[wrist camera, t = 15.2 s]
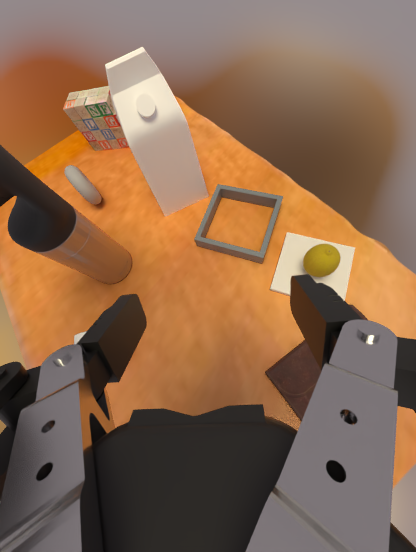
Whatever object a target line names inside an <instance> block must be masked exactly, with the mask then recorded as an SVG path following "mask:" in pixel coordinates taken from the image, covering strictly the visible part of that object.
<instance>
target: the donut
mask: <svg viewBox="0 0 416 552" xmlns="http://www.w3.org/2000/svg"><path fill="white" fill-rule="evenodd" d="M65 175H66V177H67V179H68V180H69V181H70V183H71V184H72V185H73V186H74V187H75V189H76V190H77V191H78V192H79V193H80V194H81V195H82V196H83V197H84V198H85V199H86V200H87V201H88V202H90V203H92V204H99V203H100V202H101V195H100V194H99V192H98V191H97V189H96V188H95V187H94V186H93V184H92V183H91V182H90V181H89V180H88V178H87V177H86V176H85V175H84V174H83V173H82V172H81V171H80V170H79V169H78V168H77V167H75V166H72V165H70V166H67V167H66V168H65Z"/></svg>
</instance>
